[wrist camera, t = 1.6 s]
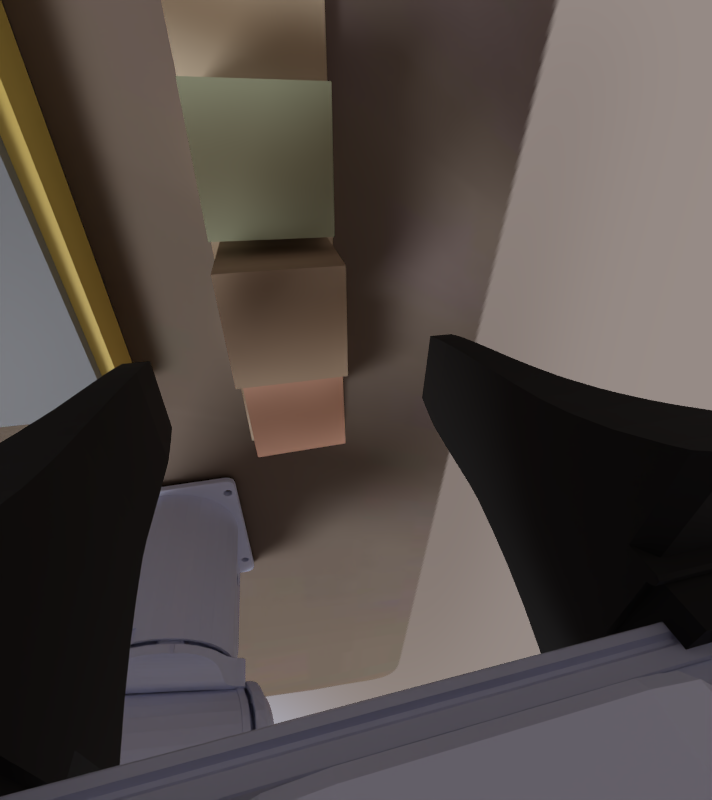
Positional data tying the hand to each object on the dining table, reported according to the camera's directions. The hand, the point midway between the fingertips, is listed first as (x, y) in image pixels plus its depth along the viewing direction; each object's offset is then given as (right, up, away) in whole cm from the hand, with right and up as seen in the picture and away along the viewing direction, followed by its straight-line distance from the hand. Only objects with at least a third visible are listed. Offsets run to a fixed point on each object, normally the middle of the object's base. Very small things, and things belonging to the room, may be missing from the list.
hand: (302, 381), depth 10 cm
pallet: (-2, +6, +8) cm, 10 cm away
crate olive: (-2, +9, +4) cm, 10 cm away
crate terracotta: (-2, +1, +9) cm, 10 cm away
